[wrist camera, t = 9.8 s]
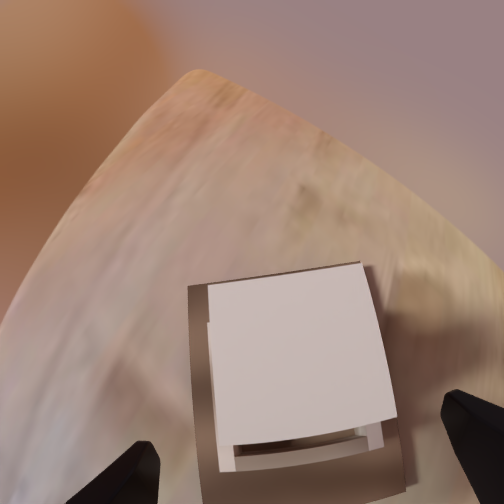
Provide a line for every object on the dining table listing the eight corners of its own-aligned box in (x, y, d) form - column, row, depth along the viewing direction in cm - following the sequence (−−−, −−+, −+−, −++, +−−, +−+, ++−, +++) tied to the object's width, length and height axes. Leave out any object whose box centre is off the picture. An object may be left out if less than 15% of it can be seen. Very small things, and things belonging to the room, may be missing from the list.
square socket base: (400, 488, 14) (424, 499, 10) (209, 517, 14) (191, 536, 11) (357, 267, 22) (368, 237, 19) (191, 291, 23) (174, 265, 19)
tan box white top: (336, 422, 16) (397, 416, 7) (257, 433, 16) (219, 446, 7) (324, 349, 19) (362, 263, 9) (249, 360, 19) (207, 285, 9)
